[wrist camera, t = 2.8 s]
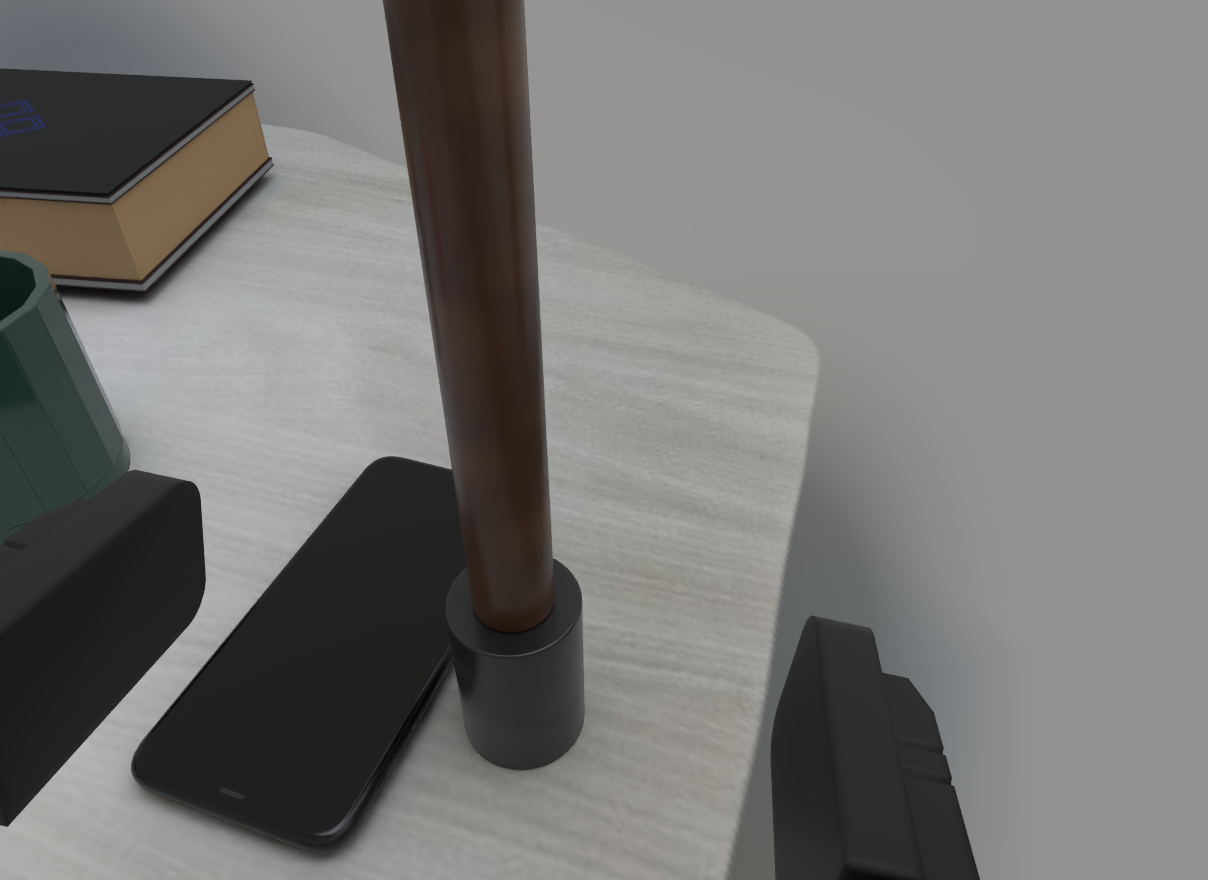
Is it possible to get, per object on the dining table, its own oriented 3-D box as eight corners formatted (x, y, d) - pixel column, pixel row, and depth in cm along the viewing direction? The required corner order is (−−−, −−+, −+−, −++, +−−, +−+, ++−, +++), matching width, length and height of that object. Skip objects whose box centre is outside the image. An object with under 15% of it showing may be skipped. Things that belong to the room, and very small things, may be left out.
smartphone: (381, 463, 39) (120, 785, 27) (377, 447, 38) (110, 770, 27) (546, 504, 37) (342, 869, 25) (545, 488, 36) (336, 855, 25)
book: (-48, 157, 64) (-95, 63, 60) (277, 176, 62) (252, 79, 58) (-252, 275, 51) (-330, 166, 47) (150, 305, 49) (107, 193, 45)
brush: (576, 658, 31) (545, -474, 13) (591, 761, 28) (578, -524, 10) (463, 671, 31) (266, -481, 12) (466, 778, 28) (212, -536, 9)
